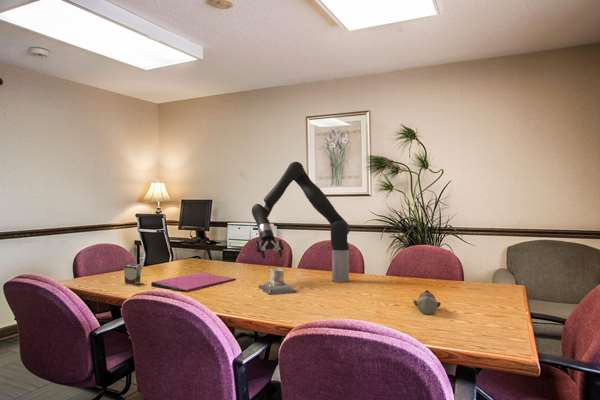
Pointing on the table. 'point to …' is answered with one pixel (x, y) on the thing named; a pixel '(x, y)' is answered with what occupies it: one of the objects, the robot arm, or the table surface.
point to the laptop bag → (190, 282)
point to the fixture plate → (276, 288)
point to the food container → (132, 273)
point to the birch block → (276, 277)
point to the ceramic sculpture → (427, 303)
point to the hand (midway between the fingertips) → (272, 257)
